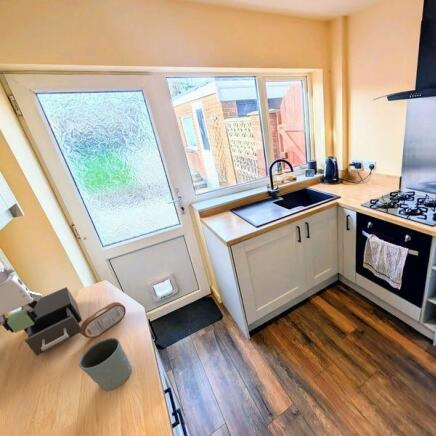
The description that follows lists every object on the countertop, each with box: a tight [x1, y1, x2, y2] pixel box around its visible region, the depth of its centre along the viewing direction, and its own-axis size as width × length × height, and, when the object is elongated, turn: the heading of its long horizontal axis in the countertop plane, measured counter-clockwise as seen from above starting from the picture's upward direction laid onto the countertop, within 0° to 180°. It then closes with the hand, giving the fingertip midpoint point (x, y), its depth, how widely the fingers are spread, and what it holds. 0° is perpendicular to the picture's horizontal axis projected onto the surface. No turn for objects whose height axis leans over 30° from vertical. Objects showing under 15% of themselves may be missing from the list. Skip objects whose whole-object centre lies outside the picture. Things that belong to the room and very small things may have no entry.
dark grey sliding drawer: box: [24, 306, 81, 357], centre depth 92 cm, size 20×13×8 cm, turn 46°
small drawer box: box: [20, 286, 82, 335], centre depth 101 cm, size 16×15×10 cm
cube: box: [7, 309, 34, 334], centre depth 78 cm, size 4×4×4 cm
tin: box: [79, 301, 127, 339], centre depth 95 cm, size 15×3×8 cm, turn 149°
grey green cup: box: [78, 337, 133, 392], centre depth 75 cm, size 10×10×12 cm
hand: (24, 324), depth 79 cm, fingers closed on cube, 4 cm apart
